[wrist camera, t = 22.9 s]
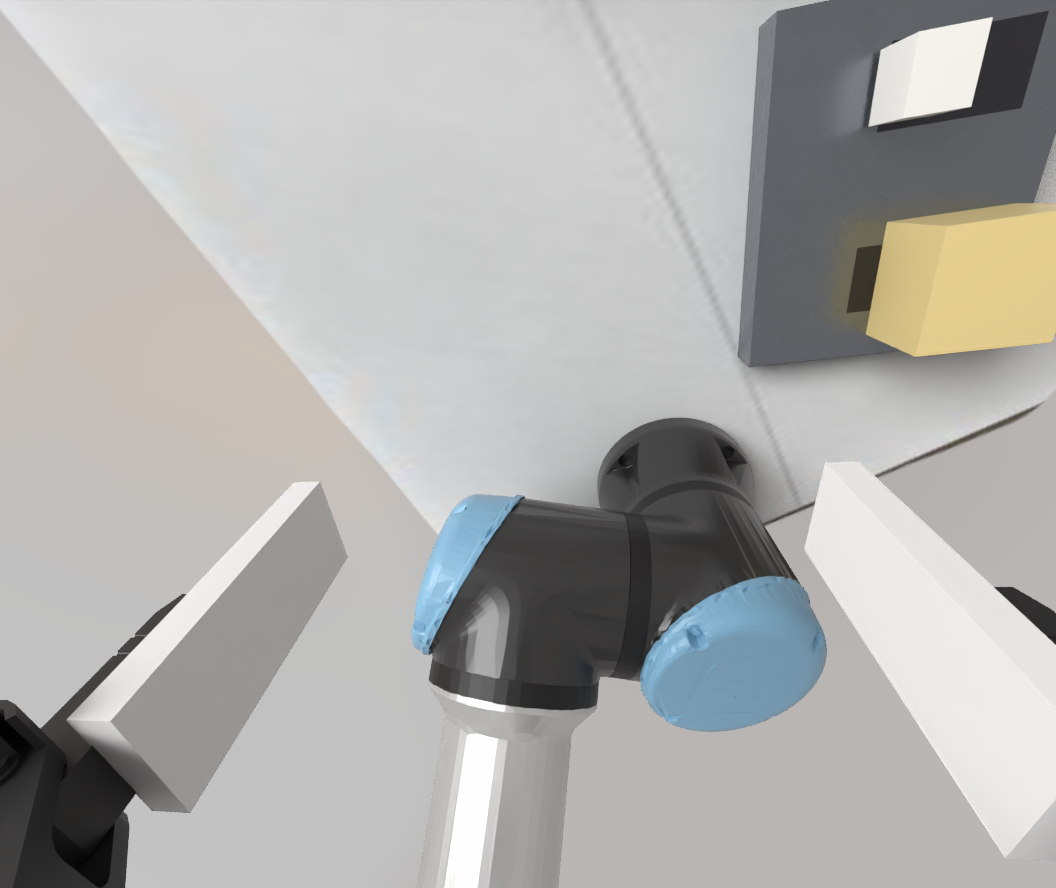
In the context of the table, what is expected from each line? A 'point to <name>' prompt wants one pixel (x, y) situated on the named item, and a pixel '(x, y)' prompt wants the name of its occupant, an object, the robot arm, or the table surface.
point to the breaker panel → (874, 159)
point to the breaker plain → (929, 72)
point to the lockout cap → (967, 280)
